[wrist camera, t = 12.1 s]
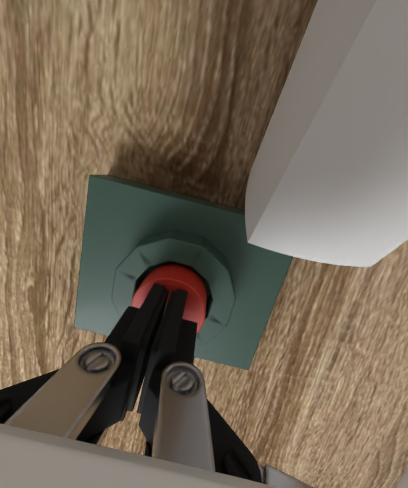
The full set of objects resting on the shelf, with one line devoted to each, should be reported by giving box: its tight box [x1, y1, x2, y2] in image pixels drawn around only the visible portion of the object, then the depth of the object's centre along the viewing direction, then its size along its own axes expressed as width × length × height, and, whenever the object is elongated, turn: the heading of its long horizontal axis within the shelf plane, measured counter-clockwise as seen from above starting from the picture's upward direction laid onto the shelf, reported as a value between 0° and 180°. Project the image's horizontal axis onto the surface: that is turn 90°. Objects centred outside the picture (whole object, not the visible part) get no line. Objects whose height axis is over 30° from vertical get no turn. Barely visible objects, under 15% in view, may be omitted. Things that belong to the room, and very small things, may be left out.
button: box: [131, 265, 207, 334], centre depth 12 cm, size 4×4×2 cm
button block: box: [74, 175, 293, 370], centre depth 14 cm, size 12×10×4 cm
